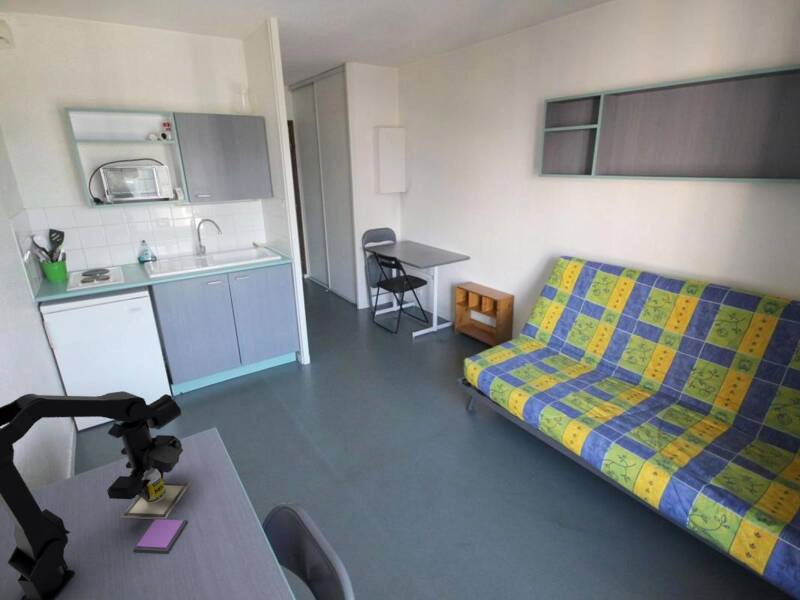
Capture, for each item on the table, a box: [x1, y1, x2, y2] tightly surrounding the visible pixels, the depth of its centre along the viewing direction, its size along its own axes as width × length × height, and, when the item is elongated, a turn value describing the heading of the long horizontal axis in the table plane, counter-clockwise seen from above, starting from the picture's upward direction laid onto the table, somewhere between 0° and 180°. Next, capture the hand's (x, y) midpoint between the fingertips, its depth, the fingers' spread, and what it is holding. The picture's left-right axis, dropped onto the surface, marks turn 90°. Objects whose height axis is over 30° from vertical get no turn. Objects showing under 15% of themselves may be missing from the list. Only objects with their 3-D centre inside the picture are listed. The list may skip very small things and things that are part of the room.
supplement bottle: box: [144, 466, 166, 503], centre depth 105 cm, size 5×5×8 cm
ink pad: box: [132, 518, 189, 554], centre depth 97 cm, size 8×8×1 cm
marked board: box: [121, 481, 190, 520], centre depth 107 cm, size 11×11×1 cm
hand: (154, 491), depth 106 cm, fingers closed on supplement bottle, 5 cm apart
